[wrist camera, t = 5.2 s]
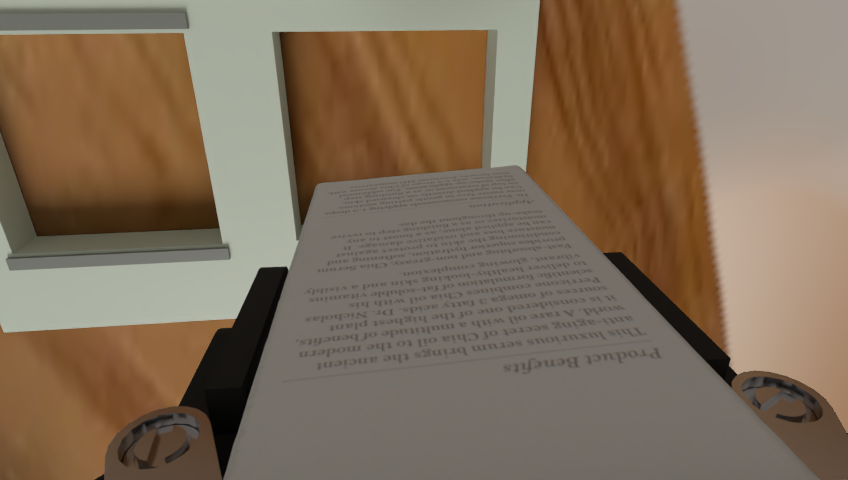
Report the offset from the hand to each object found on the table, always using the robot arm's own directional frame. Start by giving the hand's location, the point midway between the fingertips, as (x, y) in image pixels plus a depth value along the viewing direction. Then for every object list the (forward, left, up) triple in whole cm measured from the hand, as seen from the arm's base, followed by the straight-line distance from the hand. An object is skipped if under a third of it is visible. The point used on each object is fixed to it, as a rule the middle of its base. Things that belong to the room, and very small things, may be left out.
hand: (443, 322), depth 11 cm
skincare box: (0, 0, -5) cm, 5 cm away
